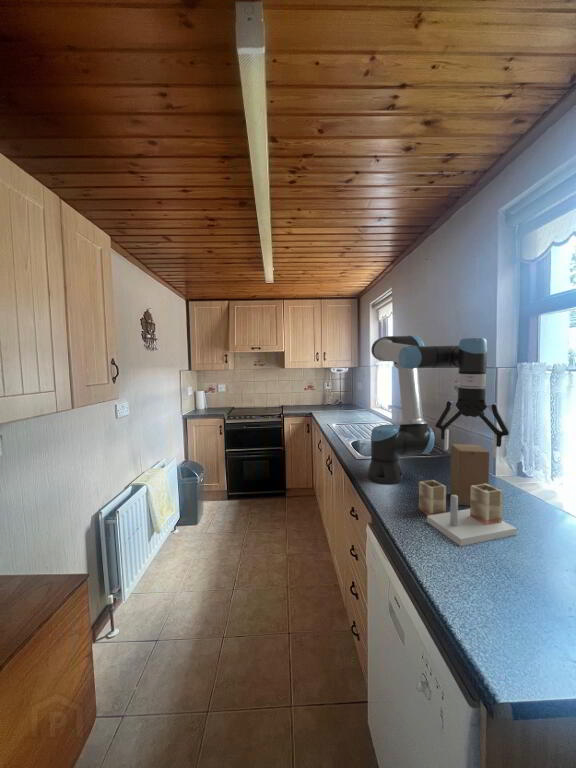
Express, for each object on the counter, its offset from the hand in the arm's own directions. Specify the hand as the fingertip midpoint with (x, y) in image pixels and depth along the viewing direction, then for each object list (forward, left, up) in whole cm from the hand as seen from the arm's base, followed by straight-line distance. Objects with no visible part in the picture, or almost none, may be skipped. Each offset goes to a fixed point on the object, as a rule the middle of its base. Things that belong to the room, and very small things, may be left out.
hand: (469, 452), depth 101 cm
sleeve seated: (+4, +2, -20) cm, 21 cm away
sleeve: (-8, -8, -22) cm, 25 cm away
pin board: (+4, -4, -22) cm, 23 cm away
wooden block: (-12, +11, -22) cm, 28 cm away
